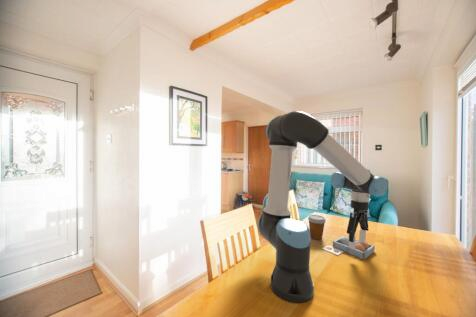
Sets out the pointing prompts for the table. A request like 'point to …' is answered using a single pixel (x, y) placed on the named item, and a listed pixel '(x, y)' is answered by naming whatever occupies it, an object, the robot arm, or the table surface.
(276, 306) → the table surface
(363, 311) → the table surface
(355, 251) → the rack
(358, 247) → the terracotta ball
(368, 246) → the terracotta ball
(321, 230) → the disposable coffee cup
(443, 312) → the table surface
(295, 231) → the robot arm
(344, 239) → the ball grey
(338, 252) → the tile
